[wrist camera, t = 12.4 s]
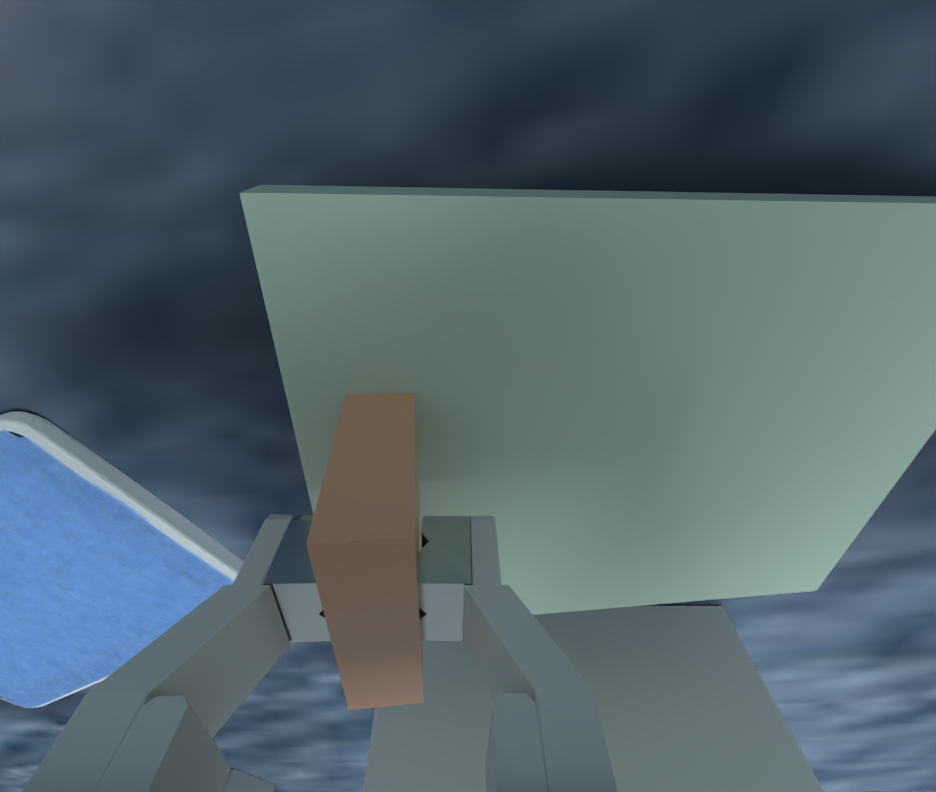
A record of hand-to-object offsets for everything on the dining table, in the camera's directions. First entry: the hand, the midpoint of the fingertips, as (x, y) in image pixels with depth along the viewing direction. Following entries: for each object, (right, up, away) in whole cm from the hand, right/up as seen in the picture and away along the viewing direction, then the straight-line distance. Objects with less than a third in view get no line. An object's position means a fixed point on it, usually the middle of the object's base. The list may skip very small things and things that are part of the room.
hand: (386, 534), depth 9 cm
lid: (+6, +2, +3) cm, 7 cm away
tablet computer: (-18, -6, +11) cm, 22 cm away
